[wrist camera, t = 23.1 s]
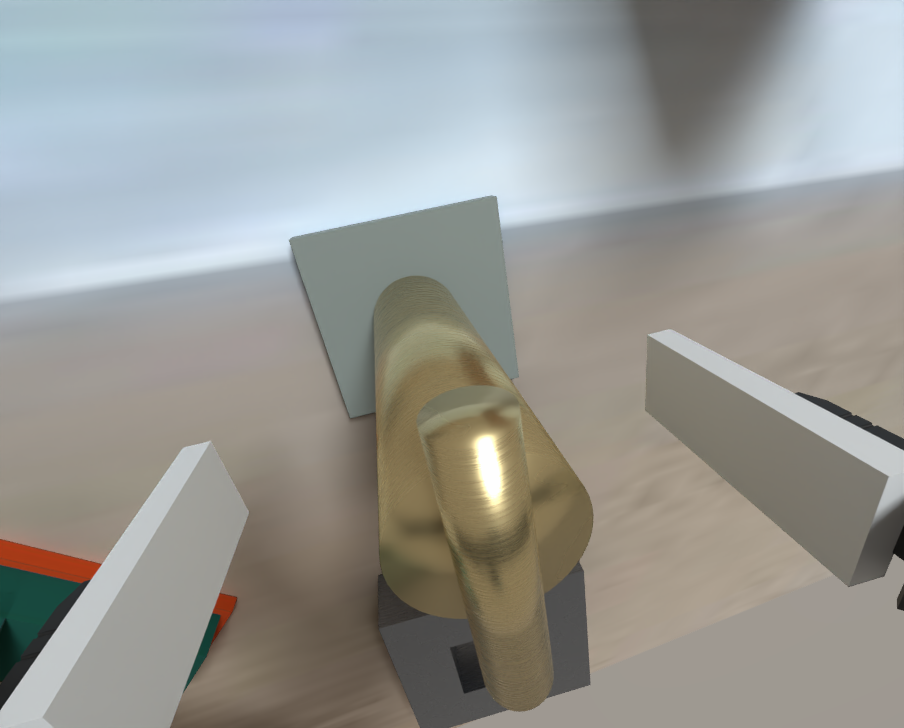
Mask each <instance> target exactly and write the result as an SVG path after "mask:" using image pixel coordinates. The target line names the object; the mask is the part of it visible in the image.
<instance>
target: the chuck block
mask: <svg viewBox="0 0 904 728" xmlns="http://www.w3.org/2000/svg"><path fill="white" fill-rule="evenodd" d="M544 599H545V607H546V615H547V622H548V630H549V638H550V646H551V653H552V661H553V669H554V679H553V685H552V688H551V690H550V693H549V695H548V696H547V698H548V697H552V696H555V695H558V694H562V693H565V692H568V691H571V690H575V689H578V688H581V687H585V686H588V685H590V669H589V652H588V636H587V619H586V602H585V585H584V571H583V569H582V567H581V565H580V563H579V561H578V563H577V564H576V566H575V567H574V568H573V569H572V570H571V571H570V573H569V574H568V575H567V576H566V577H565V578H564V579H563V580H562V581H561V582H560V583H558V584H557V585H556V586H555V587H553V588H552V589H551V590H550V591H548V592H546V593H545V594H544ZM378 608H379V631H380V633H381V636H382V638H383V640H384V643H385V645H386V647H387V650H388V652H389V655H390V657H391V659H392V662H393V664H394V667H395V669H396V671H397V674H398V676H399V678H400V681H401V683H402V686H403V688H404V690H405V693H406V695H407V697H408V700H409V702H410V705H411V707H412V709H413V712H414V714H415V716H416V719H417V721H418V724H419V726H420V728H450V727H453V726H457V725H460V724H463V723H466V722H470V721H473V720H476V719H480V718H483V717H486V716H489V715H493V714H496V713H499V712H502V711H506V710H509V709H506V708H504V707H502V706H501V705H499V704H498V703H497V702H496V701H495V700H494V699H493V698H492V697H491V695H490V694H489V692H488V691H487V688H486V686H485V683H484V680H483V676H482V672H481V668H480V664H479V661H478V657H477V653H476V649H475V645H474V641H473V638H472V634H471V630H470V626H469V622H468V619H452V618H443V617H438V616H434V615H430V614H427V613H424V612H421V611H419V610H417V609H415V608H413V607H411V606H409V605H408V604H406V603H405V602H404V601H402V600H401V599H400V598H399V597H398V596H397V595H396V594H395V593H394V592H393V591H392V590H391V588H390V587H389V586H388V584H387V582H386V580H385V578H384V576H383V574H381V575H378Z"/></svg>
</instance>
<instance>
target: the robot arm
mask: <svg viewBox="0 0 904 728" xmlns="http://www.w3.org/2000/svg"><path fill="white" fill-rule="evenodd" d="M645 410H646V411H647V412H648V413H649V414H650V415H651V416H652V417H654V418H655V419H656V420H657V421H658V422H659V423H660V424H662V425H663V426H664V427H665V428H666V429H667V430H669V431H670V432H671V433H672V434H673V435H674V436H675V437H677V438H678V439H679V440H680V441H681V442H682V443H683V444H685V445H686V446H687V447H688V448H689V449H690V450H692V451H693V452H694V453H695V454H696V455H697V456H698V457H700V458H701V459H702V460H703V461H704V462H705V463H706V464H708V465H709V466H710V467H711V468H712V469H713V470H715V471H716V472H717V473H718V474H719V475H720V476H721V477H723V478H724V479H725V480H726V481H727V482H728V483H729V484H731V485H732V486H733V487H734V488H735V489H736V490H738V491H739V492H740V493H741V494H742V495H743V496H744V497H746V498H747V499H748V500H749V501H750V502H751V503H752V504H754V505H755V506H756V507H757V508H758V509H759V510H761V511H762V512H763V513H764V514H765V515H766V516H767V517H769V518H770V519H771V520H772V521H773V522H774V523H775V524H777V525H778V526H779V527H780V528H781V529H782V530H784V531H785V532H786V533H787V534H788V535H789V536H790V537H792V538H793V539H794V540H795V541H796V542H797V543H798V544H800V545H801V546H802V547H803V548H804V549H805V550H807V551H808V552H809V553H810V554H811V555H812V556H813V557H815V558H816V559H817V560H818V561H819V562H820V563H821V564H823V565H824V566H825V567H826V568H827V569H828V570H830V571H831V572H832V573H833V574H834V575H835V576H837V577H838V578H839V579H840V580H841V581H842V582H843V583H844V584H846V585H847V586H848V587H850V586H854V585H857V584H860V583H863V582H867V581H870V580H874V579H877V578H880V577H883V576H885V573H886V571H887V569H888V566H889V564H890V561H891V559H892V557H893V554H896V555H897V556H898V557H899V558H901V559H902V560H904V439H903V438H901V437H899V436H897V435H895V434H893V433H891V432H889V431H887V430H885V429H883V428H881V427H879V426H873V425H872V423H871V422H869V421H867V420H865V419H863V418H861V417H859V416H857V415H855V416H853V415H852V414H851V412H849V411H847V410H845V409H843V408H841V407H839V406H837V405H835V404H833V403H831V402H829V401H827V400H823V399H820V398H817V397H813V396H810V395H806V394H803V393H800V392H798V393H792V392H790V391H789V390H787V389H785V388H783V387H781V386H779V385H777V384H775V383H773V382H771V381H769V380H767V379H766V378H764V377H762V376H760V375H758V374H756V373H754V372H752V371H750V370H748V369H746V368H744V367H742V366H741V365H739V364H737V363H735V362H733V361H731V360H729V359H727V358H725V357H723V356H721V355H719V354H718V353H716V352H714V351H712V350H710V349H708V348H706V347H704V346H702V345H700V344H698V343H696V342H695V341H693V340H691V339H689V338H687V337H685V336H683V335H681V334H679V333H677V332H675V331H673V330H672V329H669V330H665V331H661V332H657V333H653V334H649V335H647V365H646V399H645ZM248 514H249V511H248V509H247V507H246V505H245V504H244V502H243V500H242V498H241V496H240V494H239V492H238V490H237V489H236V487H235V485H234V483H233V481H232V479H231V477H230V476H229V474H228V472H227V470H226V468H225V466H224V464H223V462H222V461H221V459H220V457H219V455H218V453H217V451H216V449H215V448H214V446H213V444H212V442H211V441H209V442H205V443H201V444H196V445H192V446H188V447H184V448H183V449H182V450H181V452H180V453H179V454H178V456H177V457H176V459H175V460H174V462H173V463H172V465H171V466H170V467H169V469H168V470H167V472H166V473H165V475H164V476H163V477H162V479H161V480H160V482H159V483H158V485H157V486H156V487H155V489H154V490H153V492H152V493H151V495H150V496H149V498H148V499H147V500H146V502H145V503H144V505H143V506H142V508H141V509H140V510H139V512H138V513H137V515H136V516H135V518H134V519H133V521H132V522H131V523H130V525H129V526H128V528H127V529H126V531H125V532H124V533H123V535H122V536H121V538H120V539H119V541H118V542H117V543H116V545H115V546H114V548H113V549H112V551H111V552H110V554H109V555H108V556H107V558H106V559H105V561H104V562H103V564H102V565H101V566H100V568H99V569H98V571H97V572H96V574H95V575H94V576H93V578H92V579H91V580H87V581H84V582H83V583H81V584H80V585H79V586H78V587H77V588H76V589H75V590H74V591H73V592H72V593H71V594H70V595H69V596H68V597H67V598H66V599H65V600H64V601H63V602H61V603H60V604H59V605H58V606H57V607H56V609H55V610H54V612H53V613H52V614H51V616H50V617H49V618H48V620H47V621H46V622H45V624H44V625H43V627H42V628H41V629H40V631H39V632H38V633H37V634H38V637H37V638H36V639H33V640H32V642H31V643H30V644H29V646H28V647H27V648H26V650H25V651H24V653H23V654H22V655H21V660H20V662H17V663H15V665H14V666H13V668H12V669H11V670H10V672H9V673H8V674H7V676H6V677H5V678H4V680H3V681H2V683H1V684H0V728H170V726H171V723H172V721H173V718H174V715H175V713H176V710H177V707H178V704H179V702H180V699H181V696H182V694H183V691H184V688H185V685H186V683H187V680H188V677H189V675H190V672H191V669H192V666H193V664H194V661H195V658H196V656H197V653H198V650H199V647H200V645H201V642H202V639H203V637H204V634H205V631H206V628H207V626H208V623H209V620H210V618H211V615H212V612H213V609H214V607H215V604H216V601H217V599H218V596H219V593H220V590H221V588H222V585H223V582H224V580H225V577H226V574H227V571H228V569H229V566H230V563H231V561H232V558H233V555H234V552H235V550H236V547H237V544H238V541H239V539H240V536H241V533H242V531H243V528H244V525H245V522H246V520H247V517H248ZM897 609H900V610H903V611H904V585H903V587H902V589H901V591H900V594H899V596H898V598H897Z"/></svg>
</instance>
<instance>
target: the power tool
mask: <svg viewBox="0 0 904 728" xmlns="http://www.w3.org/2000/svg"><path fill="white" fill-rule="evenodd" d="M101 565H102V564H100V563H96V562H92V561H88V560H83V559H79V558H75V557H71V556H67V555H63V554H59V553H55V552H51V551H47V550H43V549H39V548H35V547H31V546H26V545H22V544H18V543H14V542H10V541H6V540H2V539H0V682H2V681H3V680H4V678H5V677H6V676H7V674H8V673H9V672H10V670H11V669H12V668H13V666H14V665H15V663H17V662H20V660H21V655H22V654H23V653H24V651H25V650H26V648H27V647H28V646H29V644H30V643H31V642H32V640H33V639H36V638H37V637H38V634H37V633H38V632H39V631H40V629H41V628H42V627H43V625H44V624H45V622H46V621H47V620H48V618H49V617H50V616H51V614H52V613H53V612H54V610H55V609H56V607H57V606H58V605H59V604H60V603H61V602H63V601H64V600H65V599H66V598H67V597H68V596H69V595H70V594H71V593H72V592H73V591H74V590H75V589H76V588H77V587H78V586H79V585H80V584H81V583H83V582H84V581H87V580H91V579H92V578H93V576H94V575H95V574H96V572H97V571H98V569H99V568H100V566H101ZM236 599H237V597H234V596H230V595H226V594H222V593H219V596H218V599H217V601H216V604H215V607H214V609H213V612H212V615H211V618H210V620H209V623H208V626H207V628H206V631H205V634H204V637H203V639H202V642H201V645H200V647H199V650H198V653H197V656H196V658H195V661H194V664H193V666H192V669H191V672H190V675H189V677H188V680H187V683H186V685H185V688H184V691H185V689H186V688H187V686H188V685H189V683H190V682H191V680H192V678H193V677H194V675H195V674H196V672H197V671H198V669H199V668H200V666H201V664H202V663H203V661H204V660H205V658H206V657H207V654H208V651H209V648H210V646H211V644H212V643H213V641H214V640H215V638H216V637H217V635H218V633H219V632H220V630H221V629H222V627H223V626H224V624H225V622H226V621H227V619H228V618H229V616H230V615H231V613H232V611H233V608H234V605H235V602H236ZM184 691H183V692H184Z"/></svg>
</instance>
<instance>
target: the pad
mask: <svg viewBox="0 0 904 728" xmlns="http://www.w3.org/2000/svg"><path fill="white" fill-rule="evenodd" d="M289 242H290V245H291V248H292V250H293V253H294V256H295V259H296V262H297V265H298V268H299V271H300V274H301V277H302V280H303V282H304V285H305V288H306V291H307V294H308V297H309V300H310V303H311V306H312V309H313V312H314V314H315V317H316V320H317V323H318V326H319V329H320V332H321V335H322V338H323V341H324V343H325V346H326V349H327V352H328V355H329V358H330V361H331V364H332V367H333V370H334V373H335V375H336V378H337V381H338V384H339V387H340V390H341V393H342V396H343V399H344V402H345V405H346V407H347V410H348V413H349V416H350V418H353V417H357V416H361V415H366V414H370V413H374V412H376V396H375V355H374V309H375V305H376V302H377V300H378V298H379V296H380V294H381V293H382V292H383V290H384V289H385V288H386V287H387V286H389V285H390V284H391V283H393V282H394V281H396V280H398V279H401V278H404V277H407V276H425V277H429V278H432V279H435V280H436V281H438V282H440V283H441V284H443V285H444V286H445V287H446V288H447V289H448V290H449V292H450V293H451V294H452V296H453V297H454V299H455V300H456V302H457V303H458V304H459V306H460V307H461V309H462V310H463V312H464V313H465V315H466V316H467V317H468V319H469V320H470V322H471V323H472V325H473V326H474V328H475V329H476V331H477V332H478V333H479V335H480V336H481V338H482V339H483V341H484V342H485V344H486V345H487V346H488V348H489V349H490V351H491V352H492V354H493V355H494V357H495V358H496V360H497V361H498V362H499V364H500V365H501V367H502V368H503V370H504V371H505V373H506V374H507V375H508V377H509V378H510V379H513V378H517V377H519V374H518V366H517V358H516V350H515V341H514V333H513V325H512V317H511V309H510V301H509V293H508V285H507V277H506V269H505V261H504V252H503V244H502V236H501V228H500V220H499V212H498V204H497V197H496V196H487V197H482V198H477V199H473V200H468V201H463V202H458V203H454V204H449V205H444V206H439V207H434V208H430V209H425V210H420V211H415V212H411V213H406V214H401V215H396V216H391V217H387V218H382V219H377V220H372V221H368V222H363V223H358V224H353V225H348V226H344V227H339V228H334V229H329V230H325V231H320V232H315V233H310V234H305V235H301V236H296V237H292V238H291V239H290V240H289Z"/></svg>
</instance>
